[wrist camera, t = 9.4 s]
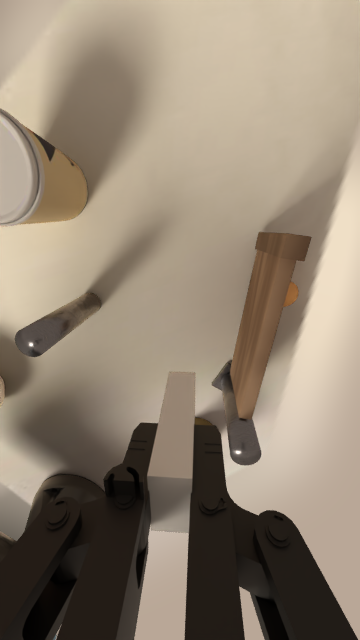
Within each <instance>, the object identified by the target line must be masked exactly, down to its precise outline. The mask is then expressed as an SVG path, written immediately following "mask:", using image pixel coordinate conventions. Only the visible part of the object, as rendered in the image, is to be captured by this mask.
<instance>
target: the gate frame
mask: <svg viewBox="0 0 360 640" xmlns="http://www.w3.org/2000/svg"><path fill="white" fill-rule="evenodd" d="M100 307H101V301H100V299H99V297H98V296H97V295H95V294H93V293H86V294H84V295H82V296H81V297H79V298H77V299H75V300H73V301H72V302H70V303H68V304H66V305H64V306H63V307H61V308H59V309H57V310H55V311H54V312H52V313H50V314H48V315H46V316H45V317H43V318H41V319H39V320H37V321H35V322H34V323H32V324H30V325H28V326H26V327H25V328H23V329H21V330H19V331H18V332H17V334H16V336H15V343H16V345H17V347H18V349H19V350H20V351H21V352H22V353H24V354H25V355H27V356H30V357H38V356H40V355H42V354H43V353H44V352H46V351H47V350H48V349H49V348H51V347H52V346H53V345H54V344H56V343H57V342H58V341H60V340H61V339H62V338H63V337H65V336H66V335H67V334H69V333H70V332H71V331H72V330H74V329H75V328H76V327H78V326H79V325H80V324H81V323H83V322H84V321H85V320H86V319H88V318H89V317H90V316H92V315H93V314H94V313H95V312H97V311H98V310H99V309H100ZM230 369H231V364H229V363H226V365H225V366H224V367H223V369H222V370H221V371H220V373H219V374H218V375H217V377H216V378H215V379H214V381H213V382H212V385H213V386H214V387H216V388H218V389H220V390H222V392H223V400H224V408H225V416H226V424H227V432H228V440H229V448H230V455H231V458H232V460H233V461H234V462H236V463H237V464H240V465H252V464H254V463H256V462H257V461H258V460H259V459H260V457H261V450H260V446H259V442H258V438H257V435H256V431H255V427H254V423H253V420H252V419H251V420H249V419H243V418H239V415H238V410H237V405H236V400H235V395H234V390H233V384H232V379H231V374H230Z"/></svg>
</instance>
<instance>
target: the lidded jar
mask: <svg viewBox="0 0 360 640" xmlns="http://www.w3.org/2000/svg"><path fill="white" fill-rule="evenodd" d="M4 389H5V384H4V381H3V379H2V377H1V376H0V407H1V406H2V403H3V400H4V396H5V391H4Z"/></svg>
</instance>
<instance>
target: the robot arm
mask: <svg viewBox="0 0 360 640" xmlns="http://www.w3.org/2000/svg"><path fill="white" fill-rule="evenodd" d="M194 424H195V373H191V372H169V377H168V381H167V386H166V390H165V395H164V400H163V404H162V409H161V414H160V418H159V423H140V424H139V425H138V426H137V427H136V429H135V430H134V431H133V434H132V437H131V441H130V443H129V446H128V450H127V452H126V455H125V458H124V461H123V464H120V465H118V466H116V467H113V468H112V469H111V470H110V471H109V472H108V473H107V474H106V476H105V478H104V479H103V480H104V487H105V493H104V492H103V491H102V490H101V489H100V488H99V487H98V486H97V485H96V484H94V483H93V482H91V481H89V480H87V479H84V478H82V477H78V476H74V475H57V476H53V477H51V478H49V479H47V480H46V481H44V482H43V484H42V485H41V487H40V488H39V490H38V491H37V493H36V495H35V497H34V500H33V503H32V506H31V510H30V513H29V517H28V520H27V523H26V527H25V530H24V533H23V534H22V536H21V537H20V538H19V539H18V541H15V540H14V539H12V538H11V537H8V536H7V535H6V534H4V533H2V532H1V531H0V640H55V639H56V636H57V635H56V633H57V631H58V629H59V628H60V630H59V633H58V636H57V639H56V640H134V636H135V630H136V623H137V618H138V611H139V605H140V599H141V592H142V586H143V580H144V574H145V567H146V561H147V555H148V535H149V529H150V525H151V530H155V531H167V532H179V533H180V532H181V533H189V543H188V568H187V569H188V570H187V594H186V621H185V640H245V637H244V629H243V619H242V609H241V600H240V591H239V586H240V587H242V588H243V589H246V590H247V591H249V592H250V594H251V598H252V601H253V604H254V607H255V610H256V613H257V616H258V620H259V623H260V626H261V629H262V632H263V636H264V639H265V640H358V639H357V637H356V635H355V633H354V631H353V629H352V628H351V626H350V624H349V622H348V620H347V618H346V617H345V615H344V613H343V611H342V609H341V607H340V605H339V604H338V602H337V600H336V598H335V597H334V595H333V593H332V591H331V589H330V588H329V585H328V584H327V582H326V580H325V578H324V576H323V574H322V572H321V571H320V569H319V567H318V565H317V563H316V561H315V560H314V558H313V556H312V554H311V552H310V550H309V548H308V547H307V545H306V543H305V541H304V539H303V538H302V536H301V534H300V532H299V530H298V529H297V527H296V526H295V524H294V523H293V522H292V520H290V519H289V518H288V517H287V516H285V515H284V514H282V513H280V512H277V511H270V510H267V511H264V512H262V513H260V514H259V516H258V515H256V514H253V513H251V512H249V511H246V510H244V509H242V508H241V507H239V506H238V505H237V504H236V503H234V501H233V500H232V499H231V498H230V496H229V494H228V492H227V488H226V480H225V470H224V461H223V451H222V441H221V434H220V432H219V431H218V429H217V427H216V426H214V425H194ZM61 624H62V625H61ZM60 626H61V627H60Z"/></svg>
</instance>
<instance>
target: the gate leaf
mask: <svg viewBox="0 0 360 640" xmlns="http://www.w3.org/2000/svg"><path fill="white" fill-rule="evenodd" d="M310 240H311V237H309V236H302V235H294V234H286V233H266V232H259V233H258V238H257V242H256V247H255V249H257V253H256V258H255V262H254V267H253V271H252V275H251V280H250V284H249V289H248V293H247V298H246V302H245V306H244V311H243V315H242V320H241V324H240V329H239V333H238V337H237V342H236V346H235V351H234V355H233V360H232V364H231V369H230V374H231V379H232V384H233V390H234V395H235V400H236V405H237V410H238V415H239V418H243V419H249V420H251V419H252V416H253V412H254V409H255V405H256V402H257V398H258V394H259V391H260V387H261V384H262V380H263V377H264V373H265V370H266V366H267V363H268V359H269V355H270V352H271V348H272V345H273V341H274V338H275V334H276V331H277V327H278V324H279V320H280V317H281V313H282V309H283V306H284V302H285V299H286V295H287V292H288V288H289V285H290V281H291V278H292V274H293V271H294V267H295V263H296V260H298V261H305V257H306V254H307V251H308V247H309V244H310Z"/></svg>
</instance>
